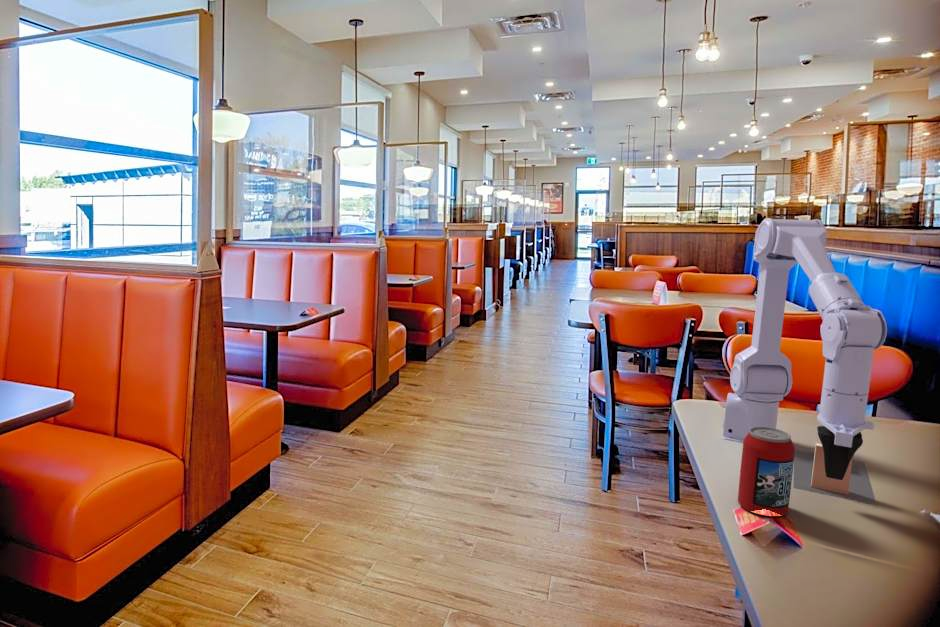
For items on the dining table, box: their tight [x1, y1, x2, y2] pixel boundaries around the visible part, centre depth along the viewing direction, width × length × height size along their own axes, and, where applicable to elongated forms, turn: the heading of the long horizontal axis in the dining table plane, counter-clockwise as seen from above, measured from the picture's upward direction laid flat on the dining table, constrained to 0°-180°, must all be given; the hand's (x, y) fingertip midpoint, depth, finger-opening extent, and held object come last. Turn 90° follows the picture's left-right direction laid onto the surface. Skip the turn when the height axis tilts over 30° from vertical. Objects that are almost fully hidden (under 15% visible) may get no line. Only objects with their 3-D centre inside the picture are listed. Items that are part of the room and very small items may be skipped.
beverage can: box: [737, 427, 796, 517], centre depth 85 cm, size 7×7×12 cm
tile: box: [811, 442, 854, 495], centre depth 92 cm, size 5×1×7 cm, turn 60°
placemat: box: [793, 449, 877, 506], centre depth 98 cm, size 11×19×1 cm, turn 150°
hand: (834, 477), depth 87 cm, fingers closed
